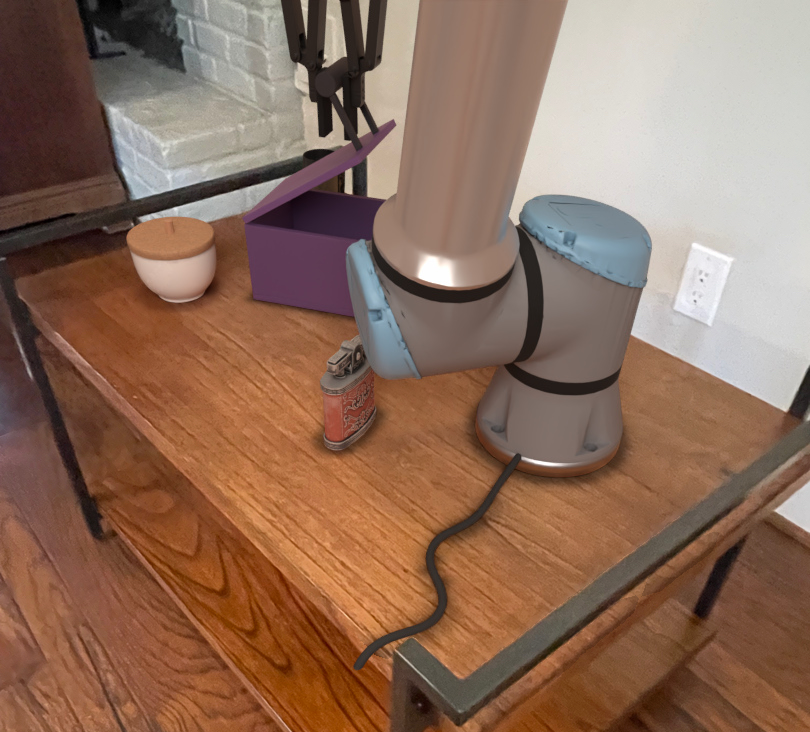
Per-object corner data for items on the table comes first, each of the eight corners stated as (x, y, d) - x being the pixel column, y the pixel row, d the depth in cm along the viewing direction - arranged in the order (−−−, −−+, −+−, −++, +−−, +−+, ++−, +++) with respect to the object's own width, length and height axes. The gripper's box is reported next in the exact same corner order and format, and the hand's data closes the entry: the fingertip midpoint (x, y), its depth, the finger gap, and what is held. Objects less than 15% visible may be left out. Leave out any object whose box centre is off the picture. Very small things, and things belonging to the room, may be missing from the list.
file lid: (396, 125, 92) (359, 45, 87) (360, 162, 82) (316, 75, 78) (288, 184, 101) (249, 114, 96) (245, 224, 91) (199, 149, 87)
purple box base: (403, 273, 105) (405, 202, 98) (373, 320, 96) (373, 245, 89) (293, 255, 108) (287, 184, 101) (253, 299, 99) (244, 224, 92)
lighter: (356, 404, 83) (354, 322, 76) (383, 413, 82) (383, 331, 75) (316, 443, 78) (310, 359, 71) (344, 454, 77) (341, 369, 70)
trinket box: (214, 313, 96) (202, 240, 89) (130, 310, 96) (111, 237, 89) (229, 274, 103) (219, 204, 97) (151, 271, 103) (136, 201, 97)
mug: (298, 230, 114) (292, 145, 105) (328, 221, 116) (324, 137, 108) (328, 249, 110) (324, 162, 101) (358, 239, 112) (357, 154, 104)
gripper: (418, -133, 72) (411, 133, 89) (269, -142, 75) (289, 117, 92) (395, -127, 67) (392, 154, 84) (236, -136, 70) (264, 137, 87)
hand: (338, 134), depth 88 cm, fingers closed on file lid, 2 cm apart
